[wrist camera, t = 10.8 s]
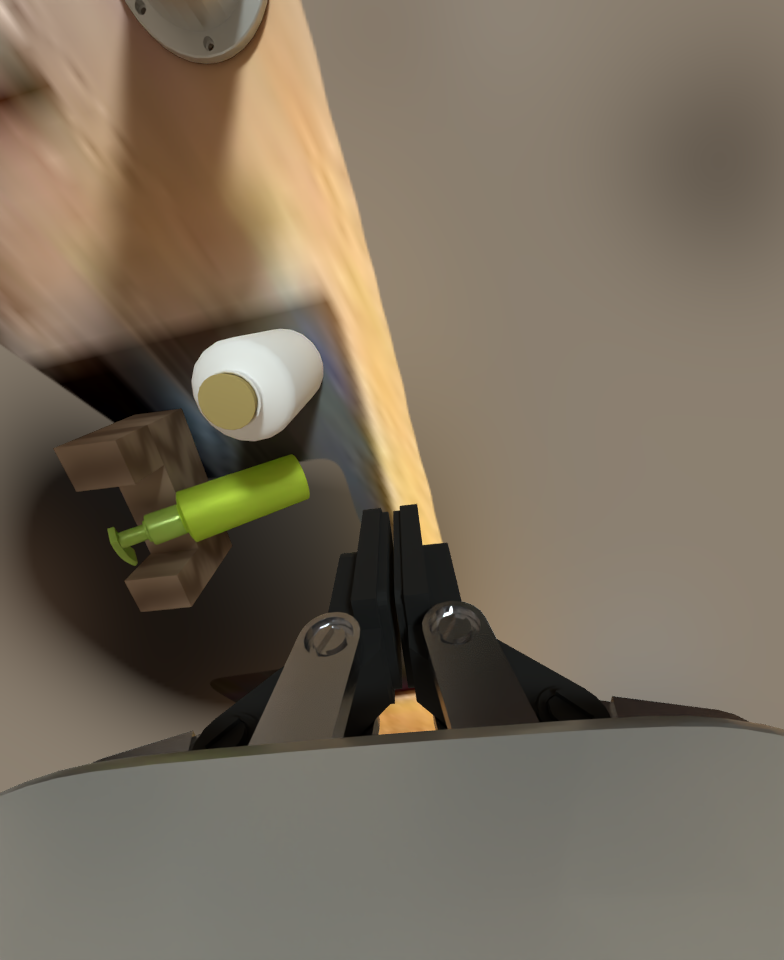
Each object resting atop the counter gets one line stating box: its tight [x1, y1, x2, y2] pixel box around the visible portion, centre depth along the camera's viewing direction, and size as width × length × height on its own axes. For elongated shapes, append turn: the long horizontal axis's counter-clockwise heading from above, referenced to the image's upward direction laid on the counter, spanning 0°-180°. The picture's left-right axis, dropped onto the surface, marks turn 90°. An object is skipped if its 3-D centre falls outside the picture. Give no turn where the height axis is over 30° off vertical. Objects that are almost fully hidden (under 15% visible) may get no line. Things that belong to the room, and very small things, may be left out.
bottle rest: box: [54, 409, 232, 612], centre depth 44 cm, size 20×6×12 cm, turn 7°
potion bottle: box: [191, 329, 323, 441], centre depth 35 cm, size 8×8×18 cm
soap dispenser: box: [107, 454, 310, 566], centre depth 42 cm, size 6×7×20 cm
